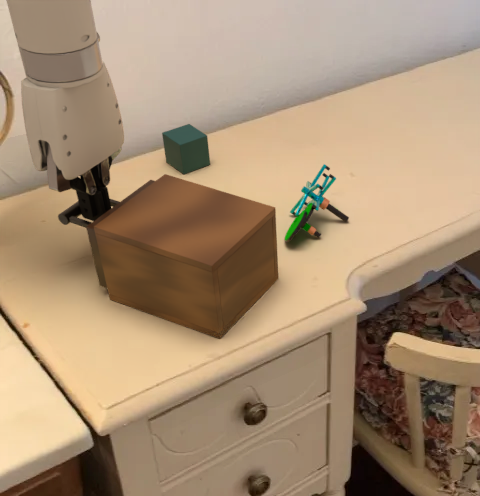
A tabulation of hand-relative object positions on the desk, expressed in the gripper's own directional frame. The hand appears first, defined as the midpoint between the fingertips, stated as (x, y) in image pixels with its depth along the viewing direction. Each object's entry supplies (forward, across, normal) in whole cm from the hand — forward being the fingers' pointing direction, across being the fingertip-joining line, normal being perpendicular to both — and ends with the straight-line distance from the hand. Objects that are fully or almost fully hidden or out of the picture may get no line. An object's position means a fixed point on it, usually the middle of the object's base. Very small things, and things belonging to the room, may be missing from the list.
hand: (97, 217), depth 96 cm
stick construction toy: (+6, -18, +19) cm, 27 cm away
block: (+6, -24, -5) cm, 25 cm away
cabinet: (+6, 0, +13) cm, 14 cm away
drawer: (+5, 0, +7) cm, 8 cm away
